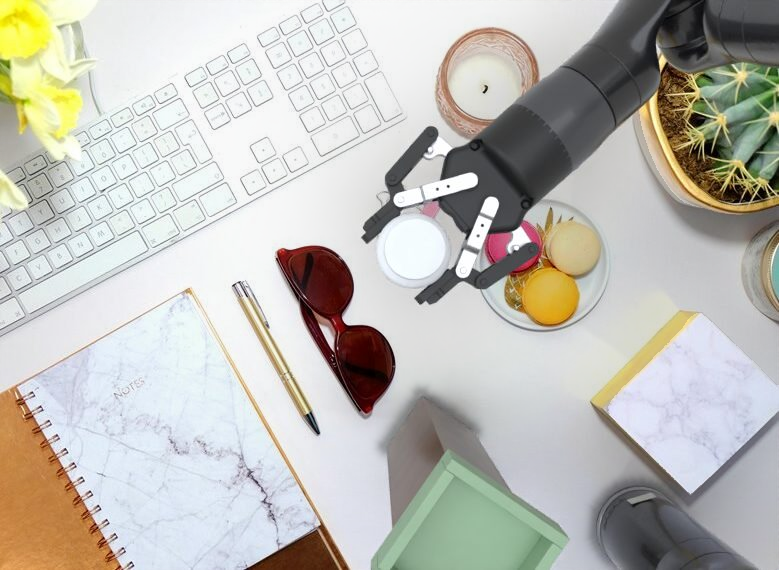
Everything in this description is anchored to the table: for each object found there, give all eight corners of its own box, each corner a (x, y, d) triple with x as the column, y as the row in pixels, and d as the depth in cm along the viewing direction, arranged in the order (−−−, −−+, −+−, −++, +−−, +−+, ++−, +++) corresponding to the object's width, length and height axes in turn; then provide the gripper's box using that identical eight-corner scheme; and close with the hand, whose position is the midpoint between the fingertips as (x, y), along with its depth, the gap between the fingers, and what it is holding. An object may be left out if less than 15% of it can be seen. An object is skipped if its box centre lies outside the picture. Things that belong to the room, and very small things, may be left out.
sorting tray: (558, 524, 45) (570, 539, 42) (482, 635, 44) (488, 658, 42) (447, 448, 44) (452, 458, 42) (370, 560, 44) (370, 578, 42)
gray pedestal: (473, 431, 72) (535, 528, 44) (437, 482, 72) (477, 612, 44) (421, 395, 72) (452, 471, 44) (386, 447, 72) (393, 555, 44)
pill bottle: (445, 224, 60) (460, 212, 48) (438, 290, 60) (452, 293, 48) (380, 218, 60) (379, 203, 48) (373, 284, 60) (371, 285, 48)
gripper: (493, 56, 50) (329, 200, 50) (616, 197, 50) (453, 341, 50) (478, 85, 57) (336, 210, 57) (585, 208, 58) (443, 333, 57)
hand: (391, 271), depth 54 cm, fingers closed on pill bottle, 6 cm apart
